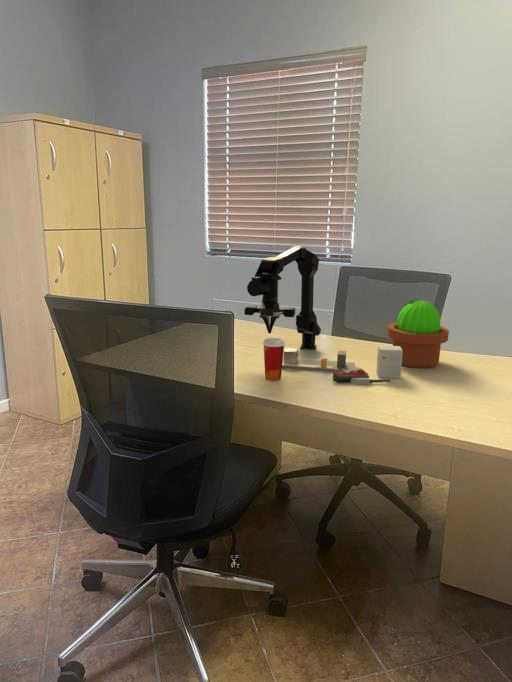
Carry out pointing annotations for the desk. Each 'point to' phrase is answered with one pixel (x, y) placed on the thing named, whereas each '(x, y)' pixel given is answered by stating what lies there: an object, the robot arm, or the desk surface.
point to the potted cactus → (418, 334)
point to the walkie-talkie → (354, 377)
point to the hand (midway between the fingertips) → (269, 333)
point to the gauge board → (316, 364)
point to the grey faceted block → (290, 355)
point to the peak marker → (323, 361)
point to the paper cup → (273, 358)
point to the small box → (389, 361)
